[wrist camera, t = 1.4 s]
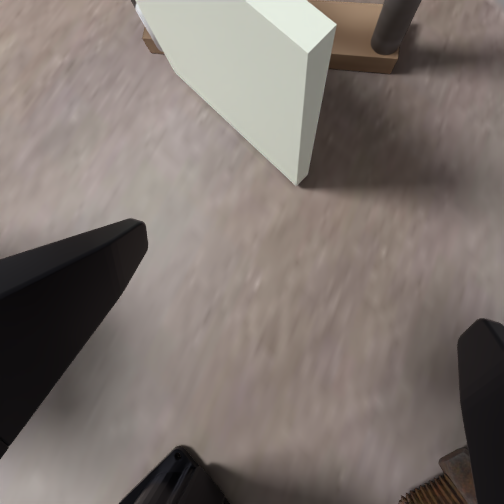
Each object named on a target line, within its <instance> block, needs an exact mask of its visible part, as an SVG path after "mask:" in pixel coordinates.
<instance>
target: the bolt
mask: <svg viewBox="0 0 504 504" xmlns="http://www.w3.org/2000/svg"><path fill="white" fill-rule="evenodd" d="M439 465H440V467H441V468H442V470H443V471H444V477H442V476H440V475H439V480H438V479H436V478H434V481H435V482H432V481H430V485H428V484H426V483H425V487H423V486H421V485H420V490H419V489H417V488H415V492H413V491H410V493H411V495H409V494H407V493H406V498H405V497H404V496H402V495H401V500H399V504H477V499H476V493H475V487H474V481H473V475H472V470H471V464H470V458H469V452H468V450H467V449H465V448H461V449H457V450H455V451H453V452H451V453H450V454H448V455H446V456H444V457H442V458H441V459H440V460H439Z"/></svg>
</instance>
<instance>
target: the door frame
mask: <svg viewBox="0 0 504 504" xmlns="http://www.w3.org/2000/svg"><path fill="white" fill-rule="evenodd" d="M307 1H308V2H309V3H311V4H312V5H313V6H314V7H316V8H317V9H318V10H319V11H321V12H322V13H323V14H324V15H326V16H327V17H328V18H329V19H331V20H332V21H333V22H334V23H336V24H337V25H336V31H335V36H334V41H333V46H332V51H331V57H330V62H329V67H328V68H330V69H341V70H352V71H364V72H375V73H387V74H391V72H392V70H393V68H394V66H395V64H396V62H397V60H398V54H399V48H400V44H401V42H402V40H403V38H404V36H405V33H406V31H407V29H408V27H409V25H410V23H411V21H412V19H413V17H414V15H415V13H416V11H417V8H418V6H419V4H420V2H421V0H385V1H384V4H370V3H352V2H335V1H317V0H307ZM131 2H132V3H133V5H134V7H135V9H136V1H135V0H131ZM142 39H143V41H144V42H145V44H146V45H147V47H148V49H149V50H150V52H151V53H158V54H164V52H162V51H160V50H158V48H157V47H156V45H155V43H154V41H153V40H152V38H151V36H150V34H149V32H148V31H147V29H146V27H145V28H144V32H143V37H142Z"/></svg>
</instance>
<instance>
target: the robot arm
mask: <svg viewBox="0 0 504 504" xmlns="http://www.w3.org/2000/svg"><path fill="white" fill-rule="evenodd" d="M147 249H148V239H147V231H146V225H145V223H144V222H142V221H139V220H136V219H132V218H129V219H126V220H123V221H120V222H116V223H113V224H110V225H107V226H104V227H101V228H98V229H94V230H91V231H88V232H85V233H82V234H79V235H76V236H72V237H69V238H66V239H63V240H60V241H57V242H53V243H50V244H47V245H44V246H41V247H38V248H35V249H31V250H28V251H25V252H22V253H19V254H16V255H13V256H9V257H6V258H3V259H0V459H1V458H2V456H3V455H4V453H5V452H6V451H7V449H8V448H9V446H10V445H11V444H12V442H13V441H14V440H15V438H16V437H17V435H18V434H19V433H20V431H21V430H22V429H23V427H24V426H25V425H26V423H27V422H28V421H29V419H30V418H31V417H32V415H33V414H34V413H35V411H36V410H37V408H38V407H39V406H40V404H41V403H42V402H43V400H44V399H45V398H46V396H47V395H48V394H49V392H50V391H51V390H52V388H53V387H54V385H55V384H56V383H57V381H58V380H59V379H60V377H61V376H62V375H63V373H64V372H65V371H66V369H67V368H68V367H69V365H70V364H71V363H72V361H73V360H74V358H75V357H76V356H77V354H78V353H79V352H80V350H81V349H82V348H83V346H84V345H85V344H86V342H87V341H88V340H89V338H90V337H91V335H92V334H93V333H94V331H95V330H96V329H97V327H98V326H99V325H100V323H101V322H102V321H103V319H104V318H105V317H106V315H107V314H108V312H109V311H110V310H111V308H112V307H113V306H114V304H115V303H116V302H117V300H118V299H119V297H120V296H121V295H122V293H123V291H124V290H125V288H126V287H127V285H128V283H129V281H130V280H131V278H132V276H133V274H134V273H135V271H136V269H137V268H138V266H139V264H140V262H141V261H142V259H143V257H144V255H145V254H146V252H147ZM457 350H458V370H459V390H460V402H461V410H462V416H463V422H464V428H465V434H466V440H467V446H468V452H469V458H470V464H471V470H472V475H473V481H474V487H475V493H476V499H477V504H504V326H503V325H502V324H500V323H498V322H495V321H492V320H488V319H484V318H480V319H478V320H476V321H475V322H474V323H473V324H472V325H471V326H470V327H469V328H468V329H467V330H466V331H465V332H464V333H463V334H462V335H461V336H460V338H459V340H458V344H457ZM176 453H180V455H181V457H178V456H177V454H176ZM119 504H230V503H229V502H228V500H227V499H226V498H225V497H224V494H223V493H222V491H221V490H220V489H219V488H218V486H217V485H216V484H215V483H214V482H213V480H212V479H211V478H210V477H209V476H208V474H207V473H206V472H205V471H204V470H203V468H202V467H199V465H198V464H197V463H196V462H195V460H194V459H193V458H192V457H191V456H190V454H189V453H188V452H187V451H186V450H185V448H183V447H182V446H177V447H175V448H174V449H173V450H172V451H171V452H170V453H169V454H168V455H167V456H166V457H165V458H164V459H163V460H162V461H161V462H160V463H159V464H158V465H157V466H156V467H155V468H154V469H153V470H152V471H151V472H150V473H149V474H148V475H147V476H146V477H144V478H143V479H142V480H141V481H140V482H139V483H138V484H137V485H136V486H135V487H134V488H133V489H132V490H131V491H130V492H129V493H128V494H127V495H126V496H125V497H124V498H123V499H122V500H121V502H120V503H119Z"/></svg>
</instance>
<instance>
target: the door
mask: <svg viewBox="0 0 504 504" xmlns="http://www.w3.org/2000/svg"><path fill="white" fill-rule="evenodd" d="M135 1H136V11H137V13H138V15H139V17H140V18H141V20H142V22H143V24H144V25H145V27H146V29H147V31H148V32H149V34H150V36H151V38H152V40H153V41H154V43H155V45H156V47H157V48H158V50H160V51H162V52H164V54H165V55H166V57H167V59H168V61H169V63H170V64H171V66H172V68H173V70H174V72H175V73H176V74H177V75H178V76H179V77H180V78H181V79H182V80H183V81H184V82H186V83H187V84H188V85H189V86H190V87H191V88H192V89H193V90H194V91H195V92H196V93H197V94H198V95H199V96H200V97H202V98H203V99H204V100H205V101H206V102H207V103H208V104H209V105H210V106H211V107H212V108H213V109H214V110H215V111H216V112H218V113H219V114H220V115H221V116H222V117H223V118H224V119H225V120H226V121H227V122H228V123H229V124H230V125H231V126H232V127H234V128H235V129H236V130H237V131H238V132H239V133H240V134H241V135H242V136H243V137H244V138H245V139H246V140H247V141H249V142H250V143H251V144H252V145H253V146H254V147H255V148H256V149H257V150H258V151H259V152H260V153H261V154H262V155H263V156H265V157H266V158H267V159H268V160H269V161H270V162H271V163H272V164H273V165H274V166H275V167H276V168H277V169H278V170H279V171H281V172H282V173H283V174H284V175H285V176H286V177H287V178H288V179H289V180H290V181H291V182H292V183H293V184H294V185H295V186H297V185H298V184H299V183H300V182H301V181H302V180H303V179H304V178H305V177H306V176H307V175H308V171H309V166H310V161H311V156H312V150H313V145H314V140H315V135H316V130H317V124H318V119H319V114H320V109H321V104H322V98H323V93H324V88H325V83H326V78H327V72H328V67H329V62H330V57H331V51H332V46H333V41H334V36H335V31H336V25H337V24H336V23H334V22H333V21H332V20H331V19H329V18H328V17H327V16H326V15H324V14H323V13H322V12H321V11H319V10H318V9H317V8H316V7H314V6H313V5H312V4H311V3H309V2H308V1H307V0H135Z"/></svg>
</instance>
